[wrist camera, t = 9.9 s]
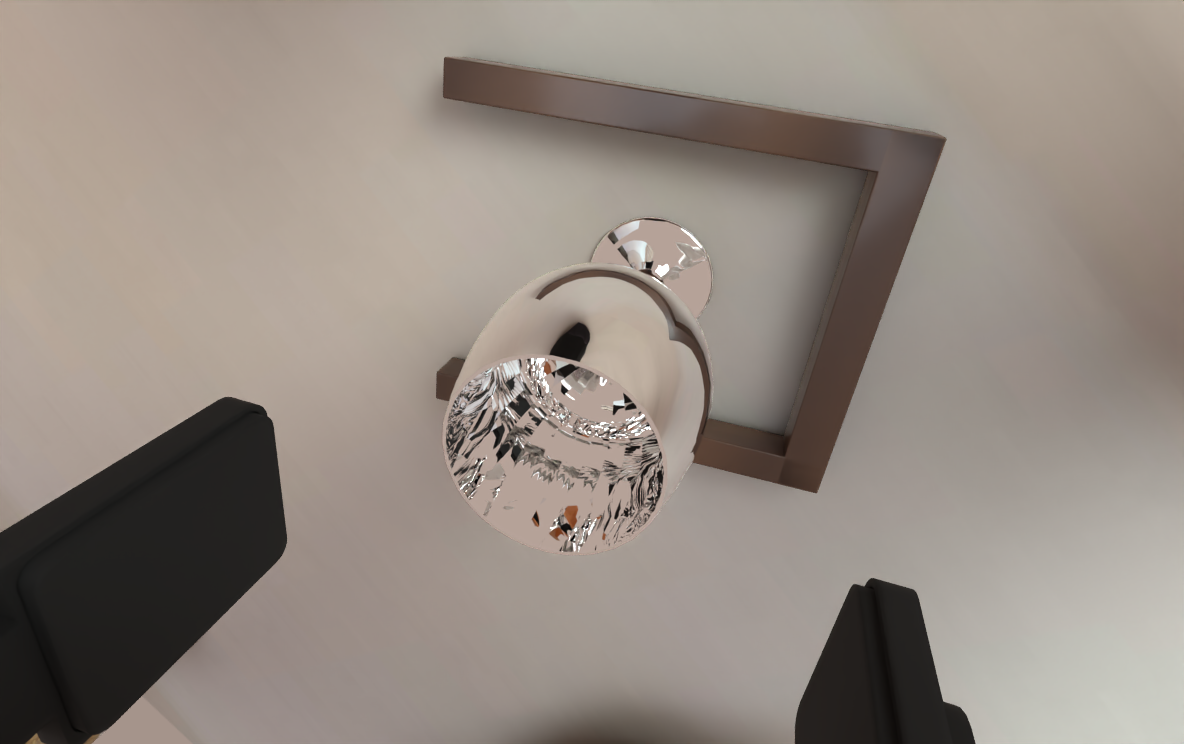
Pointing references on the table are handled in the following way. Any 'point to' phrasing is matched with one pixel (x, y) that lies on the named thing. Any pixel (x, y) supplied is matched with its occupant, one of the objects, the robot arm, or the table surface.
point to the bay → (883, 150)
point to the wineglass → (587, 394)
